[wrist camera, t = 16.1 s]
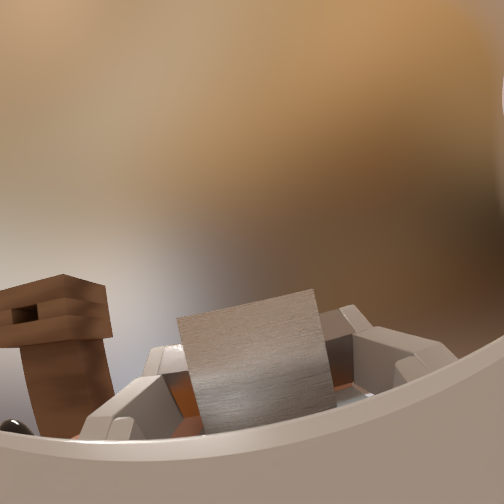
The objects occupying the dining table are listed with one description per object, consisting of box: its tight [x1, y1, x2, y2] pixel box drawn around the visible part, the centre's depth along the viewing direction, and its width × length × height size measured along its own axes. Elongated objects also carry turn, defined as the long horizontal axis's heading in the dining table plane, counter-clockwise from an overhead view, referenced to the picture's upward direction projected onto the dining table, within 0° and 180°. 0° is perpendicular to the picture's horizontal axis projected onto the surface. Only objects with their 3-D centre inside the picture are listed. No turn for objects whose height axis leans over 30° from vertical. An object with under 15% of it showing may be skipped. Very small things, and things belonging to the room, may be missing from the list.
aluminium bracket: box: [177, 289, 337, 435], centre depth 15 cm, size 14×4×4 cm, turn 179°
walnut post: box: [0, 274, 115, 439], centre depth 18 cm, size 8×12×29 cm, turn 88°
